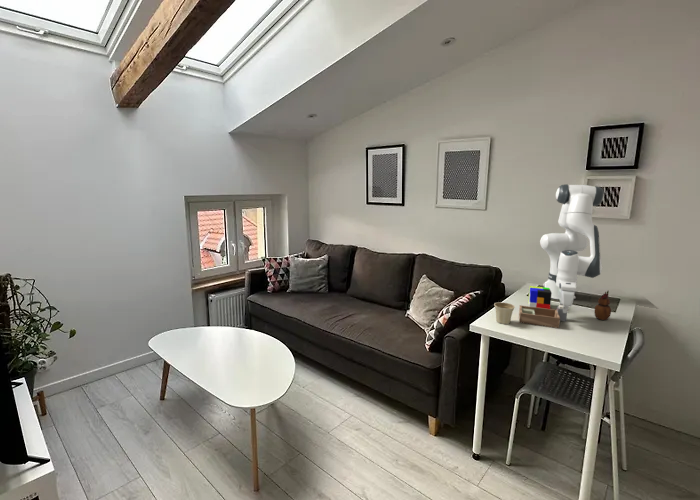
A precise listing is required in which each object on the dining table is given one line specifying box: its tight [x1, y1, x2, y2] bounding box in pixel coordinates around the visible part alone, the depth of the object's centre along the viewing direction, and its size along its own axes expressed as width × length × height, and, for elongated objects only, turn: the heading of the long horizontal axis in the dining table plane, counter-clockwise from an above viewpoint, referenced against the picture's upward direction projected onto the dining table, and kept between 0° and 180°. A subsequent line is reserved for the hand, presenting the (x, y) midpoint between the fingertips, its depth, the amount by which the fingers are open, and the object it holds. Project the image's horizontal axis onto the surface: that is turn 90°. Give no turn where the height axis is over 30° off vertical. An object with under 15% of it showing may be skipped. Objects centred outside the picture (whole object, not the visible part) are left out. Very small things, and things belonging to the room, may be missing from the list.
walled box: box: [518, 304, 561, 329], centre depth 180 cm, size 13×17×5 cm
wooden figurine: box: [593, 290, 612, 321], centre depth 182 cm, size 7×6×15 cm
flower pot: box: [493, 301, 516, 325], centre depth 178 cm, size 9×9×9 cm
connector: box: [556, 304, 568, 322], centre depth 182 cm, size 4×4×7 cm
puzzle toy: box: [527, 285, 552, 309], centre depth 202 cm, size 10×10×10 cm
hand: (563, 309), depth 181 cm, fingers open, 8 cm apart
